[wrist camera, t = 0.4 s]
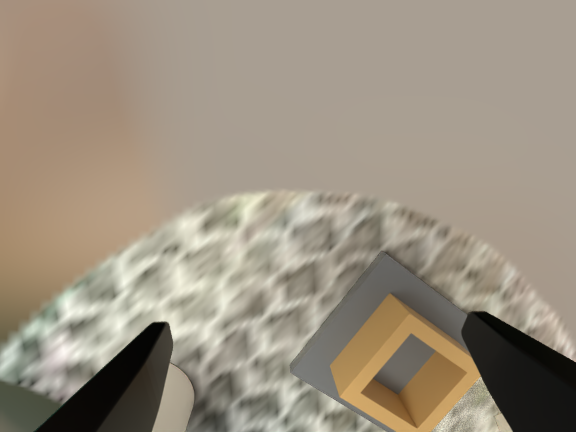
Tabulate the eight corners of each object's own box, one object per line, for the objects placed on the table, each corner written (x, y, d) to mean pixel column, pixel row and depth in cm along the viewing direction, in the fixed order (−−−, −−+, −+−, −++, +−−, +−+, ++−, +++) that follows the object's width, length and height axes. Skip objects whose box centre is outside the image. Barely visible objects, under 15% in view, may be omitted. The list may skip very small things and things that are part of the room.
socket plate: (396, 430, 28) (420, 479, 24) (289, 365, 26) (294, 405, 22) (486, 329, 27) (529, 360, 23) (381, 250, 25) (406, 268, 20)
